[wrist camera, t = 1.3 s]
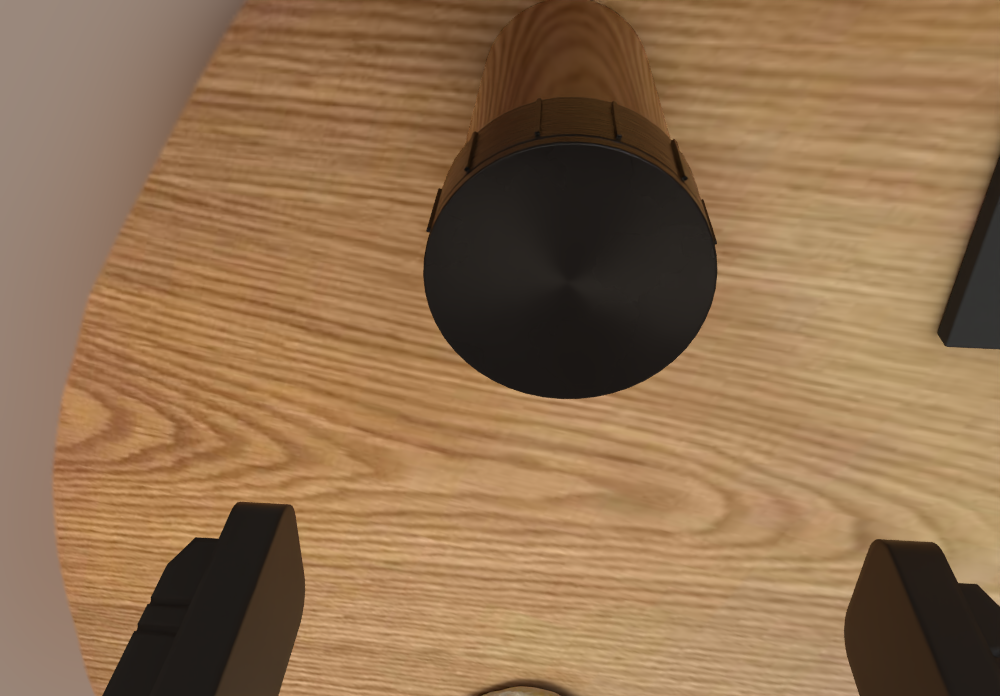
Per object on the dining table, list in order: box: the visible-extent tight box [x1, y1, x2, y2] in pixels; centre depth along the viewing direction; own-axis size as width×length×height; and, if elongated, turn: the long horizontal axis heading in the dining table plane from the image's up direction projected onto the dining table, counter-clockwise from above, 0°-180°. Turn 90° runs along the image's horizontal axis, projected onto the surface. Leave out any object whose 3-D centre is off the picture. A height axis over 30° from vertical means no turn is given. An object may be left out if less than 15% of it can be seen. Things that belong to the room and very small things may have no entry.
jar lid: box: [423, 97, 717, 399], centre depth 20 cm, size 6×6×3 cm
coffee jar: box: [465, 0, 671, 144], centre depth 25 cm, size 6×6×14 cm
